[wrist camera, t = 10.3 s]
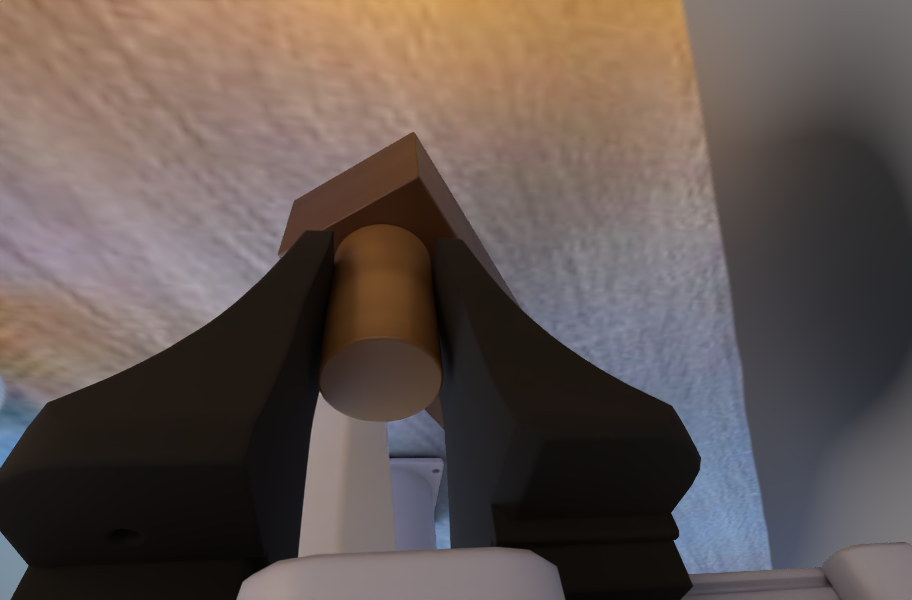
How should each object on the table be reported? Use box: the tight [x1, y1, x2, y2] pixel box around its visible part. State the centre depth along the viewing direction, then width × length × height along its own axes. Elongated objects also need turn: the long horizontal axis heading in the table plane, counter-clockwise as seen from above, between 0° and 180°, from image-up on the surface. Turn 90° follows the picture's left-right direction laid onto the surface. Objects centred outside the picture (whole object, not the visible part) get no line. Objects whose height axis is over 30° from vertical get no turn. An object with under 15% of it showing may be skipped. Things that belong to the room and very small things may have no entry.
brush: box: [278, 132, 521, 429], centre depth 15 cm, size 11×4×7 cm, turn 28°
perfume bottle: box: [298, 391, 397, 557], centre depth 22 cm, size 5×4×15 cm
